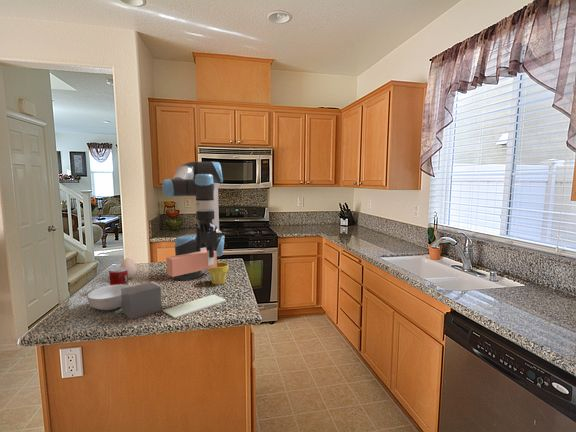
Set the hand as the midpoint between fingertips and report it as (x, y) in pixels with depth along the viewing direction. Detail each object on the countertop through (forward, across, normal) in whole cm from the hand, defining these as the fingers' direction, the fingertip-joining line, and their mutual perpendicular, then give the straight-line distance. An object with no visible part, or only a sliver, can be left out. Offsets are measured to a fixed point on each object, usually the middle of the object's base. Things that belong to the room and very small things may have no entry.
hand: (207, 263), depth 135 cm
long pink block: (+2, 0, -7) cm, 7 cm away
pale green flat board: (+17, 0, -6) cm, 18 cm away
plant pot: (+17, -19, +18) cm, 31 cm away
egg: (+17, -61, -13) cm, 64 cm away
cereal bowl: (+18, -26, -31) cm, 44 cm away
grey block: (+17, -11, -24) cm, 32 cm away
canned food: (+17, -44, -22) cm, 52 cm away
